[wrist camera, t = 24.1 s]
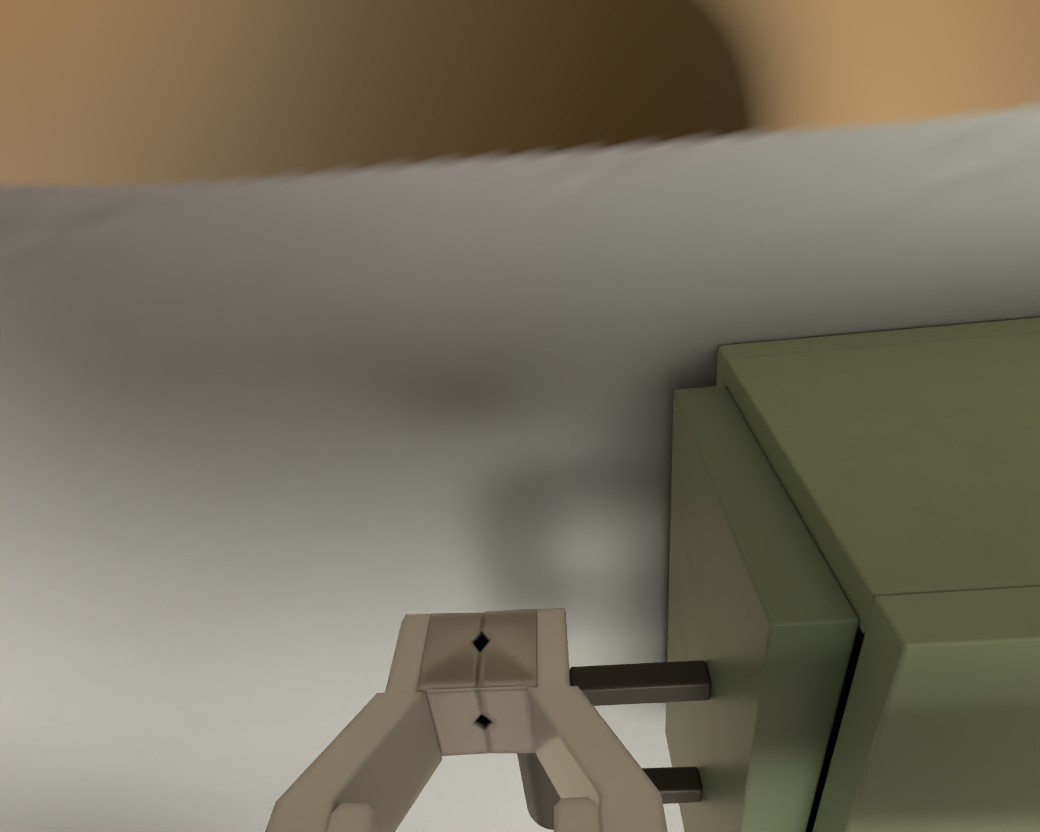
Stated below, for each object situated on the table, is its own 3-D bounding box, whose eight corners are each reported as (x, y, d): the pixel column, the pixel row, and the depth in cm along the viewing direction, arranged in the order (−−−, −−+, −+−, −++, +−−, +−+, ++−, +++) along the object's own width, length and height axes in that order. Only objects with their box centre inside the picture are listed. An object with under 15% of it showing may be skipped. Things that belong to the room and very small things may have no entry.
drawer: (540, 737, 21) (542, 996, 15) (489, 404, 14) (459, 643, 9) (1049, 714, 20) (1260, 985, 14) (1254, 340, 13) (1819, 566, 7)
